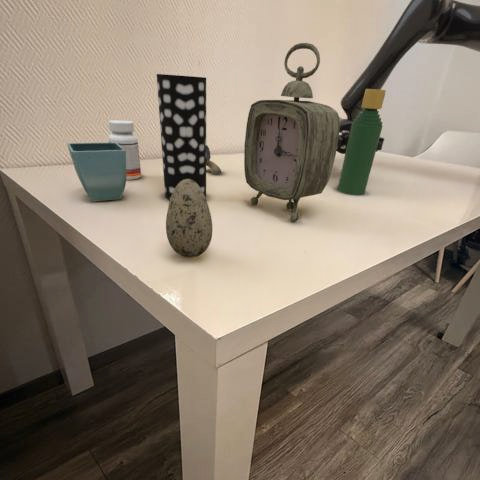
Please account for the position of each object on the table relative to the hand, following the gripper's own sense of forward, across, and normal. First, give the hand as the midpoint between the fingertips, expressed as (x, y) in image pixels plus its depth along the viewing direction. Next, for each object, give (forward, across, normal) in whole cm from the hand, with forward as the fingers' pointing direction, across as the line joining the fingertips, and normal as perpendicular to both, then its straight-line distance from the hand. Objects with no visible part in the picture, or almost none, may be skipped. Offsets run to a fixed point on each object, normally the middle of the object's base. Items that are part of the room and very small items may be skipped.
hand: (358, 145), depth 76 cm
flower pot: (+21, -52, +10) cm, 57 cm away
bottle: (+2, 0, +10) cm, 10 cm away
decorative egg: (+44, -32, +10) cm, 56 cm away
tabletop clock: (+22, -18, +10) cm, 30 cm away
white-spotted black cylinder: (+17, -37, +10) cm, 42 cm away
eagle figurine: (-7, -36, +10) cm, 38 cm away
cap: (+2, 0, -7) cm, 8 cm away
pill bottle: (+4, -53, +10) cm, 54 cm away
